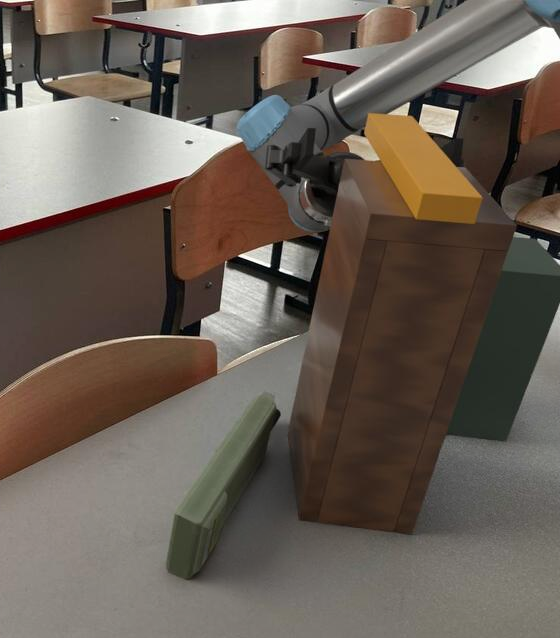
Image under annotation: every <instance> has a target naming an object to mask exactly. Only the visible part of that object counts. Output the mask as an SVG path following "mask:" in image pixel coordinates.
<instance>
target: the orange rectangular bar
mask: <svg viewBox="0 0 560 638" xmlns="http://www.w3.org/2000/svg"><path fill="white" fill-rule="evenodd" d="M363 133H364V136H365V137H366V139H367V141H368V143H369V144H370V146H371V147H372V149H373V151H374V153H375V154H376V156H377V157H378V160H380V161H381V162H382V164H383V166H384V167H385V169H386V171H387V172H388V174H389V176H390V177H391V179H392V180H393V182H394V184H395V185H396V187H397V189H398V190H399V192H400V194H401V195H402V197H403V199H404V200H405V202H406V204H407V205H408V207H409V209H410V210H411V212H412V213H413V215H414V217H415V218H416V219H419V220H431V221H444V222H456V223H468V224H475V221H476V218H477V215H478V211H479V208H480V205H481V202H482V196H481V195H480V194H479V193H478V192H477V190H476V189H475V188H474V187H473V186H472V185H471V184H470V182H469V181H468V180H467V179H466V178H465V177H464V175H463V174H462V173H461V172H460V171H459V170H458V169H457V167H456V166H455V165H454V164H453V163H452V162H451V160H450V159H449V158H448V157H447V156H446V155H445V154H444V152H443V151H442V150H441V149H440V148H441V147H440V146H438V144H437V143H436V141H434V140H433V138H432V137H431V136H430V135H429V134H428V132H427V131H426V130H425V129H424V128H423V127H422V125H421V124H420V123H419V122H418V121H417V120H416V119H415V118H414V116H412V115H401V114H390V113H388V114H374V113H369V114H368V118H367V122H366V126H365V127H364V132H363Z"/></svg>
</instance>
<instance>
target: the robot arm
mask: <svg viewBox="0 0 560 638" xmlns="http://www.w3.org/2000/svg"><path fill="white" fill-rule="evenodd" d="M542 28H549V29H553V30H554V32H555V34H556V36H557V37H558V39H559V40H560V0H465V1H464V2H462V3H460V4H459V5H457V6H456V7H454V8H453V9H451V10H449V11H448V12H446V13H445V14H443V15H441V16H440V17H438V18H437V19H435V20H434V21H432V22H431V23H429V24H427V25H426V26H424V27H423V28H421V29H419V30H417V31H416V32H415V33H413V34H412V35H410V36H408V37H407V38H405V39H403V40H402V41H401V42H399V43H398V44H396V45H394V46H392V47H391V48H390V49H388V50H386V51H385V52H383V53H381V54H380V55H378V56H377V57H375V58H373V59H372V60H371V61H369V62H367V63H366V64H364V65H363V66H361V67H359V68H358V69H356V70H355V71H353V72H352V73H350V74H349V75H346V77H344V78H342V79H340V80H339V81H337V82H336V83H334V84H333V85H330V86H329V87H327V88H326V89H325V90H323V91H321V92H320V93H318V94H317V95H315V96H313V97H312V98H310V99H308V100H306V101H304V102H302V103H300V104H298V105H297V104H296V105H294V106H292V107H291V105H290V104H289V103H287V102H286V101H285V99H284V98H283V97H282V96H281V95H278V94H273V95H270V96H267V97H265V98H264V99H262V100H261V101H259V102H257V104H255V105H254V106H252V107H251V108H250V109H249V110H248V111H246V113H245V114H243V115H242V116H241V118H240V119H239V120H238V121H237V124H236V132H237V134H238V136H239V137H240V139H241V140H242V142H243V144H244V145H245V147H246V150H247V152H249V153H250V154H251V156H252V158H253V159H254V160H255V162H256V163H257V164H258V165H259V166H260V168H261V169H262V170H263V172H264V173H265V175H266V176H267V178H268V180H270V181H271V183H272V184H273V185H274V186H275V188H276V189H277V192H278V193H279V194H280V196H281V197H282V198H283V200H284V201H285V203H286V205H287V210H288V215H289V217H290V219H291V221H292V223H294V225H295V226H297V228H299V229H301V230H303V231H306V232H310V233H311V232H312V233H319V232H323V231H328V230H329V231H330V227H331V222H332V217H333V212H334V207H335V203H336V198H337V193H338V188H339V183H340V179H341V174H342V169H343V164H344V159H356V160H366V159H365V158H364V157H362V156H361V155H359V154H356V153H354V152H350V151H336V152H332V153H330V154H327V155H325V154H324V153H323V151H324V150H327V149H329V148H332V147H334V146H335V145H338V144H340V143H342V142H343V141H344V140H345V139H347V138H349V137H350V136H351V135H354V134H355V133H357V132H358V131H360V130H362V129H363V128H365V127H366V122H367V118H368V114H369V113H374V114H391V113H392V112H394V111H395V110H398V109H399V108H401V107H403V106H404V105H407V104H408V103H410V102H412V101H414V100H415V99H417V98H419V97H420V96H422V95H425V94H426V93H428V92H430V91H431V90H433V89H435V88H437V87H438V86H440V85H442V84H444V83H446V82H448V81H449V80H451V79H453V78H454V77H457V76H458V75H460V74H462V73H463V72H465V71H467V70H469V69H471V68H472V67H474V66H476V65H478V64H480V63H481V62H483V61H485V60H487V59H488V58H491V57H492V56H494V55H496V54H497V53H499V52H500V51H503V50H504V49H506V48H508V47H510V46H511V45H513V44H515V43H517V42H518V41H520V40H523V39H524V38H526V37H528V36H529V35H531V34H533V33H535V32H537V31H539V30H540V29H542ZM463 147H464V137H463V138H461V137H454V138H453V139H451V140H450V141H449V142H447V143H446V144H444V145H443V146H441V147H439V148H440V149H441V150H442V151H443V152H444V154H445V155H446V156H447V157H448V158H449V159H450V160H451V162H452V163H453V164H454V165H455V166H456V167H464V168H465V165H466V160H465V159H462V158H463ZM375 161H380V159H378V160H375Z"/></svg>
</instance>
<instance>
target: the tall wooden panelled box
mask: <svg viewBox="0 0 560 638" xmlns="http://www.w3.org/2000/svg"><path fill="white" fill-rule="evenodd" d="M457 169H458V170H459V171H460V172H461V173H462V174H463V175H464V177H465V178H466V179H467V180H468V181H469V182H470V184H471V185H472V186H473V187H474V188H475V189H476V190H477V192H478V193H479V194H480V195H481V196H482V202H481V205H480V208H479V211H478V215H477V218H476V221H475V224H468V223H456V222H444V221H431V220H419V219H416V218H415V217H414V215H413V213H412V212H411V210H410V209H409V207H408V205H407V204H406V202H405V200H404V199H403V197H402V195H401V194H400V192H399V190H398V189H397V187H396V185H395V184H394V182H393V180H392V179H391V177H390V176H389V174H388V172H387V171H386V169H385V167H384V166H383V164H382V162H381V161H376V160H369V159H365V160H356V159H344V164H343V169H342V174H341V179H340V183H339V188H338V193H337V198H336V203H335V207H334V212H333V217H332V222H331V227H330V229H329V233H328V237H327V241H326V246H325V251H324V255H323V260H322V265H321V271H320V276H319V280H318V285H317V289H316V295H315V299H314V305H313V309H312V313H311V317H310V318H311V319H310V324H309V328H308V333H307V338H306V342H305V348H304V352H303V358H302V362H301V367H300V372H299V376H298V381H297V386H296V391H295V396H294V401H293V406H292V411H291V414H290V420H289V424H288V429H287V436H288V437H287V438H288V445H289V452H290V462H291V467H292V469H291V470H292V475H293V484H294V490H295V492H294V493H295V499H296V506H297V513H298V520H299V521H307V522H313V523H321V524H329V525H337V526H338V525H339V526H344V527H352V528H359V529H366V530H367V529H368V530H374V531H382V532H391V533H398V534H406V535H407V534H408V535H413V533H414V530H415V527H416V524H417V522H418V519H419V515H420V513H421V510H422V506H423V504H424V501H425V498H426V495H427V491H428V490H429V486H430V484H431V481H432V477H433V475H434V471H435V469H436V465H437V462H438V460H439V457H440V454H441V451H442V449H443V444H444V442H445V439H446V436H447V434H446V433H447V430H448V427H449V424H450V421H451V418H452V415H453V412H454V410H455V407H456V404H457V401H458V398H459V395H460V392H461V389H462V386H463V383H464V380H465V377H466V374H467V371H468V368H469V365H470V362H471V359H472V356H473V353H474V351H475V348H476V345H477V342H478V339H479V336H480V333H481V330H482V327H483V324H484V321H485V318H486V315H487V312H488V309H489V306H490V303H491V300H492V297H493V295H494V292H495V289H496V286H497V283H498V280H499V277H500V274H501V271H502V268H503V265H504V262H505V259H506V256H507V253H508V251H509V248H510V245H511V242H512V239H513V237H515V233H516V230H517V227H518V225H517V224H516V223H515V221H514V220H513V219H512V218H511V217H510V216H509V215H508V214H507V213H506V211H505V210H504V209H503V208H502V206H500V204H498V203H497V201H496V200H495V199H494V198H493V197H492V196H491V194H490V193H488V192H487V190H486V189H485V188H484V187H483V186H482V185H481V183H479V181H478V180H477V179H476V178H475V176H473V175H472V173H471V172H470V170H468V169H467V168H466V167H465V166H464V167H457Z"/></svg>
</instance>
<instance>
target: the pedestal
mask: <svg viewBox="0 0 560 638" xmlns="http://www.w3.org/2000/svg"><path fill="white" fill-rule="evenodd" d="M559 308H560V264H559V262H557V260H556V259H555V258H554V257H553V256H552V255H551V254H550V252H548V250H546V248H545V247H544V246H543V245H542V244H541V243H540V242H539V241H538V240H537V239H536V238H532V237H531V238H530V237H519V236H513V239H512V242H511V245H510V248H509V251H508V253H507V256H506V259H505V262H504V265H503V268H502V271H501V274H500V277H499V280H498V283H497V286H496V289H495V292H494V295H493V297H492V300H491V303H490V306H489V309H488V312H487V315H486V318H485V321H484V324H483V327H482V330H481V333H480V336H479V339H478V342H477V345H476V348H475V351H474V353H473V356H472V359H471V362H470V365H469V368H468V371H467V374H466V377H465V380H464V383H463V386H462V389H461V392H460V395H459V398H458V401H457V404H456V407H455V410H454V412H453V415H452V418H451V421H450V424H449V427H448V430H447V433H446V435H450V436H451V435H452V436H460V437H468V438H477V439H485V440H486V439H487V440H496V441H504V442H506V441H507V440H508V438H509V435H510V433H511V430H512V428H513V425H514V422H515V419H516V417H517V415H518V412H519V409H520V407H521V404H522V401H523V399H524V396H525V394H526V391H527V389H528V387H529V383H530V381H531V379H532V376H533V374H534V372H535V369H536V366H537V363H538V361H539V358H540V355H541V353H542V351H543V348H544V345H545V344H546V340H547V339H548V338H547V337H548V335H549V333H550V330H551V328H552V325H553V323H554V320H555V318H556V315H557V313H558V310H559Z"/></svg>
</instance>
